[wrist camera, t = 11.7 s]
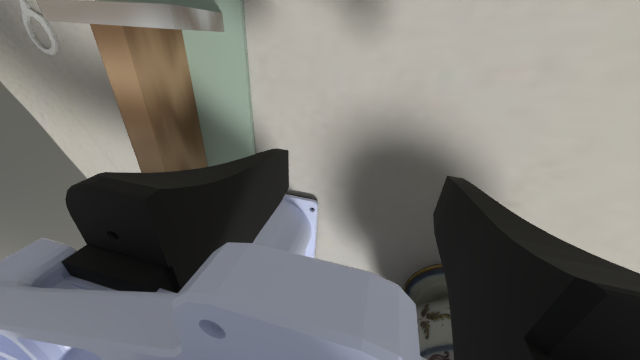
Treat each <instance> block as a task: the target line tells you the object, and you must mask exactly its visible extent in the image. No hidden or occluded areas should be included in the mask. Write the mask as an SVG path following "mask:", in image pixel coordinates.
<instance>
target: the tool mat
mask: <svg viewBox="0 0 640 360" xmlns="http://www.w3.org/2000/svg"><path fill="white" fill-rule="evenodd" d="M95 1H111V2H134V3H158V4H172V5H178V6H184V7H190V8H196V9H202V10H208V11H214V12H220V13H222V15H223V23H224V32H213V31H196V30H182V34H183V39H184V44H185V49H186V54H187V60H188V65H189V70H190V75H191V81H192V86H193V91H194V96H195V101H196V107H197V112H198V117H199V122H200V128H201V133H202V138H203V143H204V148H205V154H206V159H207V164H208V167H209V166H214V165H219V164H223V163H227V162H231V161H234V160H238V159H241V158H245V157H248V156H251V155H254V154H255V142H254V130H253V118H252V105H251V93H250V81H249V68H248V56H247V44H246V32H245V19H244V7H243V0H95Z"/></svg>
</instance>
